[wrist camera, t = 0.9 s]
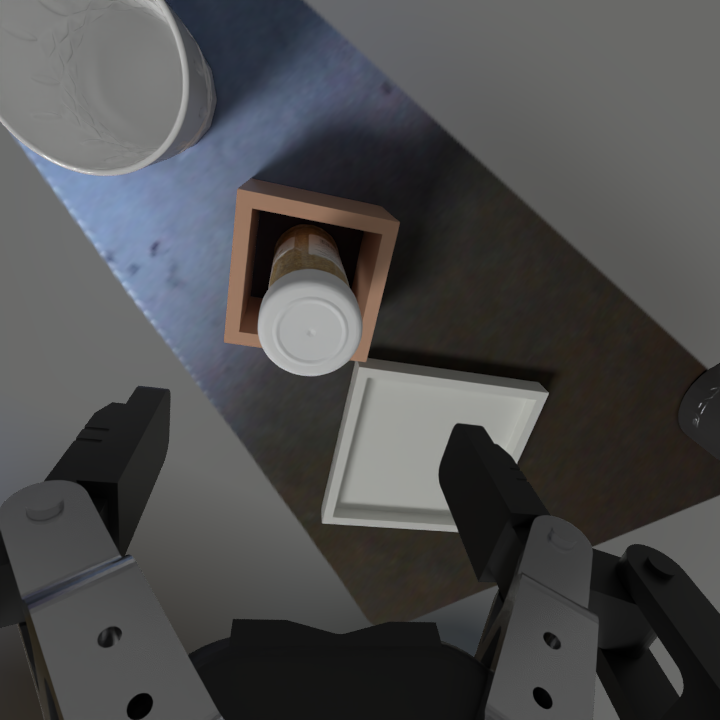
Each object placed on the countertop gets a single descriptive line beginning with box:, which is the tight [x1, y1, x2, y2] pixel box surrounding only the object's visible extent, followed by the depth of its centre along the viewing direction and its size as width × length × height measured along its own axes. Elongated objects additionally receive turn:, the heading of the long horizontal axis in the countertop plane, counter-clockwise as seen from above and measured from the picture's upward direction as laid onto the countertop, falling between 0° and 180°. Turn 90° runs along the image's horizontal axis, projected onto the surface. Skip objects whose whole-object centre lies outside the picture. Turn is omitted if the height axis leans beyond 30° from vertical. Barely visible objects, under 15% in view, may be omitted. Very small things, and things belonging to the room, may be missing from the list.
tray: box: [321, 358, 549, 532], centre depth 39 cm, size 16×16×2 cm
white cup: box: [0, 0, 217, 176], centre depth 21 cm, size 8×8×10 cm
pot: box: [224, 178, 400, 362], centre depth 28 cm, size 9×9×6 cm
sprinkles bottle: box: [258, 224, 363, 376], centre depth 25 cm, size 5×5×14 cm
